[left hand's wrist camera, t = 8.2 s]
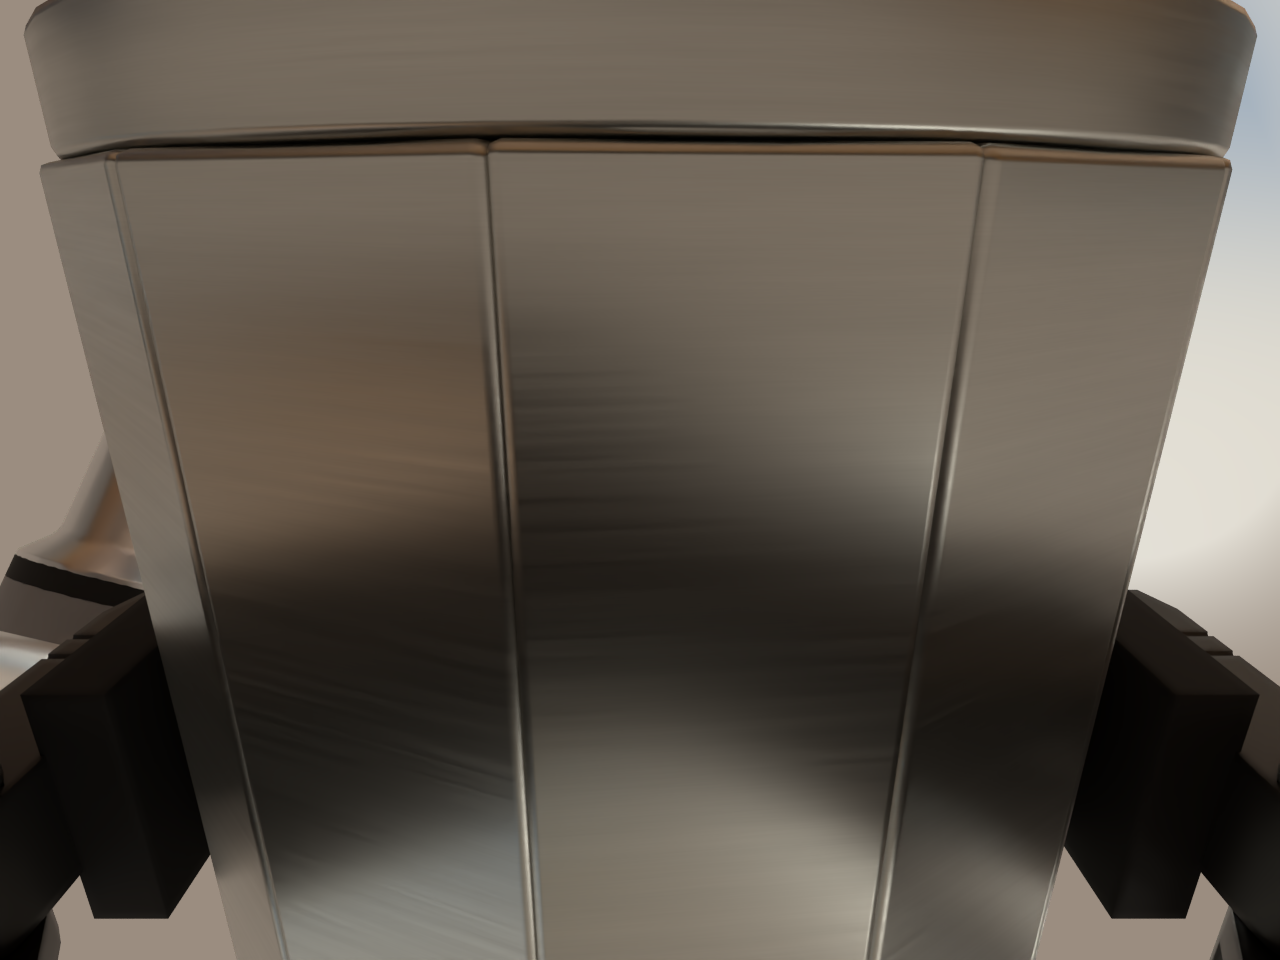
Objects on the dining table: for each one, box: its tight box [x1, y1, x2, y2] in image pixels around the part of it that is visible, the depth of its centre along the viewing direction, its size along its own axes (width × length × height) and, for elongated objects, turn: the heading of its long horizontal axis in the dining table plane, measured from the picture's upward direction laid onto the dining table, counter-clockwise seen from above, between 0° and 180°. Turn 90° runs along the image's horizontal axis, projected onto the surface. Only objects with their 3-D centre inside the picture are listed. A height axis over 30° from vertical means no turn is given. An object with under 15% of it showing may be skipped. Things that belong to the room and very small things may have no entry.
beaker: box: [24, 0, 1257, 960], centre depth 9 cm, size 9×10×12 cm
